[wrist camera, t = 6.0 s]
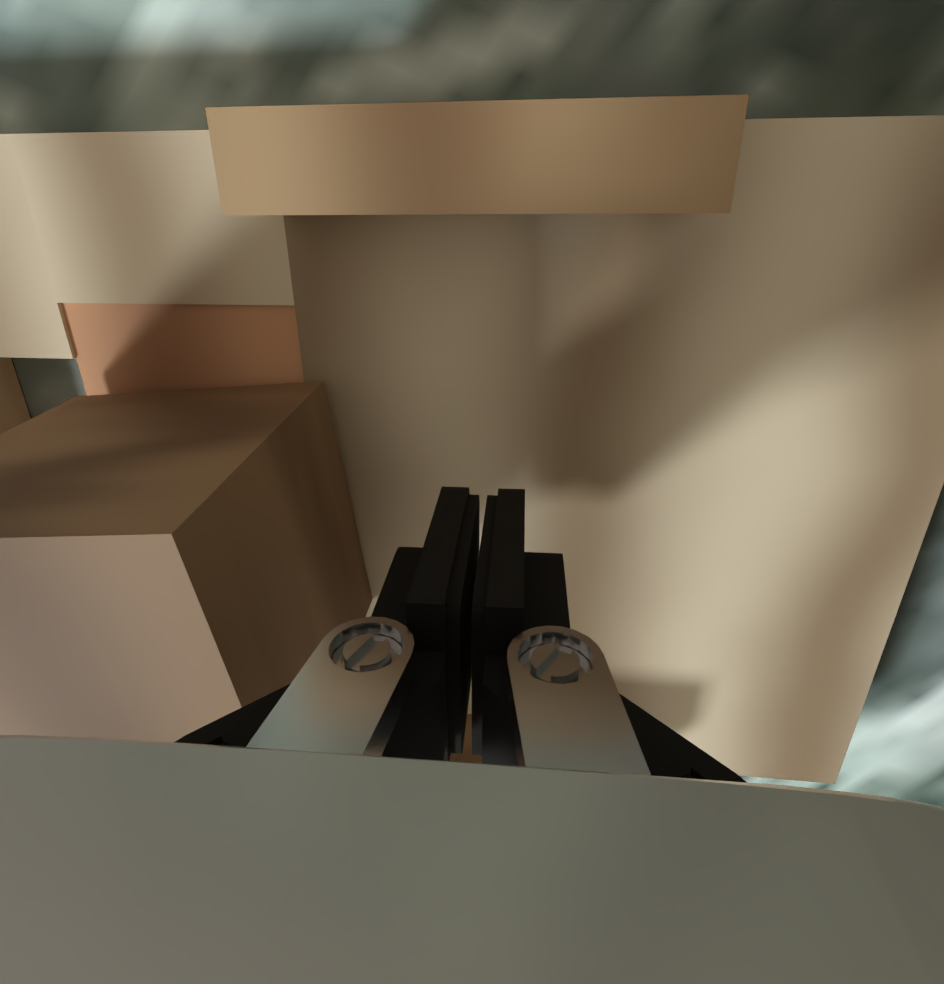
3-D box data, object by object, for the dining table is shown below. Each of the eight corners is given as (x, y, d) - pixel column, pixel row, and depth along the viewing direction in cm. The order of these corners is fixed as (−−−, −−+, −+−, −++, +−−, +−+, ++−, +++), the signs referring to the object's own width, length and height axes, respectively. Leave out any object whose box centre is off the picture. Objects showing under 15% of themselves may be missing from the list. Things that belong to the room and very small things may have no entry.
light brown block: (323, 381, 13) (171, 533, 8) (372, 598, 16) (286, 817, 11) (75, 396, 14) (-212, 542, 9) (165, 600, 17) (-9, 802, 11)
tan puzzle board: (979, 131, 12) (1233, 82, 8) (800, 715, 19) (880, 872, 14) (-114, 150, 15) (-403, 121, 10) (72, 659, 21) (-53, 777, 17)
